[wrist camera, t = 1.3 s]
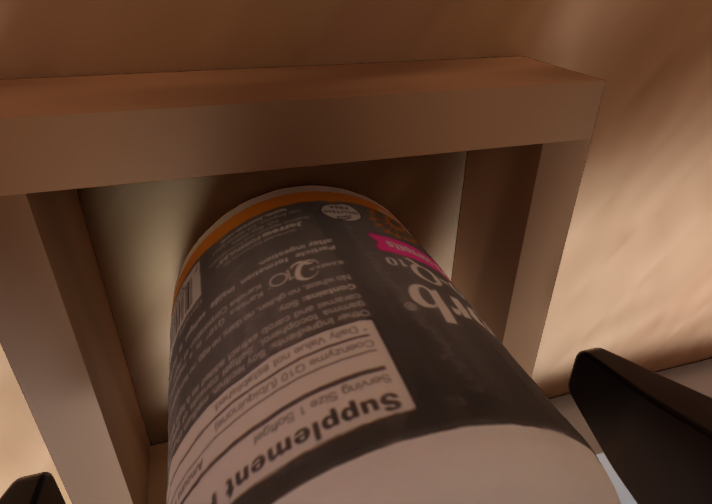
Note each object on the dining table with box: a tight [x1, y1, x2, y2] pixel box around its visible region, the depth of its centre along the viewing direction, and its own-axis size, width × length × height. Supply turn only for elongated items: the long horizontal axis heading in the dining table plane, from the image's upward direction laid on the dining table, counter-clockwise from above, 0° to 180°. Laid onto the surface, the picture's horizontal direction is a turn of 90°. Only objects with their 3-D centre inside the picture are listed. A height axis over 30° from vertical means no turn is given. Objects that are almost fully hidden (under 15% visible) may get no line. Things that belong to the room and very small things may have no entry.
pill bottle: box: [166, 185, 621, 504], centre depth 8 cm, size 6×6×10 cm
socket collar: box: [0, 56, 606, 504], centre depth 11 cm, size 10×10×2 cm
